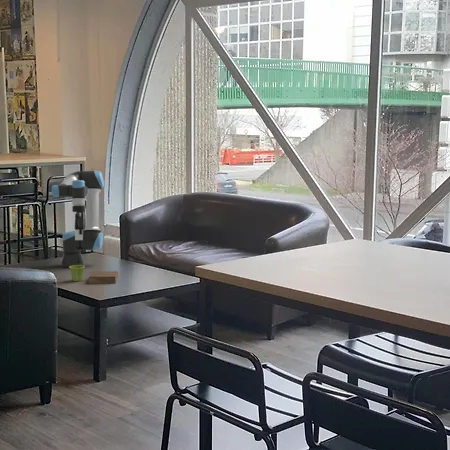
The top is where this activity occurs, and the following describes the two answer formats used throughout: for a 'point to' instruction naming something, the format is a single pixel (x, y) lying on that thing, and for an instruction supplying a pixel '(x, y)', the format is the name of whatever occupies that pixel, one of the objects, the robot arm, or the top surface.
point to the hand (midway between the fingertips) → (78, 240)
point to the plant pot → (77, 272)
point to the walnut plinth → (103, 277)
